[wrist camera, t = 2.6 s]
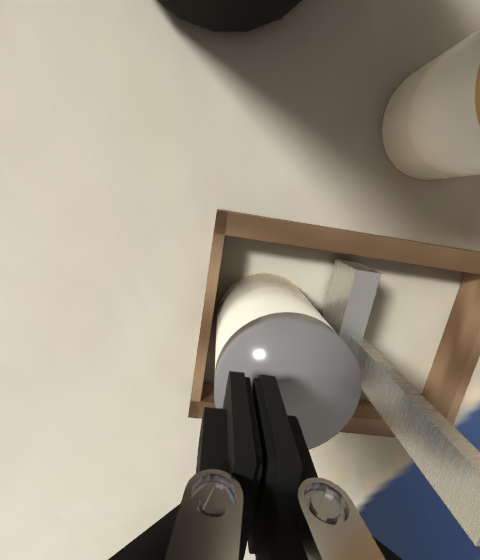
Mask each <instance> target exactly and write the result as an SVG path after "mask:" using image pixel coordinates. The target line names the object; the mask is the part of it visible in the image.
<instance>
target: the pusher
mask: <svg viewBox="0 0 480 560" xmlns="http://www.w3.org/2000/svg"><path fill="white" fill-rule="evenodd" d="M380 277H381V273H379V272H377V271H375V270H373V269H371V268H369V267H367V266H364V265H362V264H360V263H358V262H353V261H347V260H340V259H336V260H335V264H334V268H333V272H332V276H331V280H330V285H329V289H328V293H327V297H326V301H325V305H324V310H323V314H322V317H323V318H324V319H325V320H326V321H327V323H328V324H329V325H330V326H331V327H332V328H333V330H334V331H335V332H336V333H337V334H338V336H339V337H340V338H341V339H342V340H343V341H344V343H345V344H346V345H347V346H348V347H349V349H350V350H351V351H352V353H353V354H354V356H355V358H356V360H357V362H358V365H359V368H360V372H361V380H362V387H361V389H362V391H363V392H364V394H365V395H366V396H367V398H368V399H369V400H370V402H371V403H372V405H373V406H374V407H375V409H376V410H377V411H378V413H379V414H380V415H381V417H382V418H383V420H384V421H385V422H386V424H387V425H388V426H389V428H390V429H391V431H392V432H393V433H394V435H395V436H396V437H397V439H398V440H399V442H400V443H401V444H402V446H403V447H404V448H405V450H406V451H407V452H408V454H409V455H410V457H411V458H412V459H413V461H414V462H415V463H416V465H417V466H418V467H419V469H420V470H421V472H422V473H423V474H424V476H425V477H426V479H427V480H428V481H429V483H430V484H431V485H432V487H433V488H434V489H435V491H436V492H437V494H438V495H439V496H440V498H441V499H442V500H443V502H444V503H445V505H446V506H447V507H448V509H449V510H450V511H451V513H452V514H453V515H454V517H455V518H456V519H457V521H458V522H459V524H460V525H461V527H462V528H463V529H464V531H465V532H466V533H467V535H468V536H469V537H470V539H471V540H472V542H473V543H474V544H475V546H480V452H479V451H478V450H477V449H476V448H475V447H474V446H473V445H472V444H471V443H470V442H469V441H468V440H467V439H466V438H465V437H464V436H463V435H462V434H461V433H460V432H459V431H458V430H457V429H456V428H455V427H454V426H453V425H452V424H451V423H449V422H448V421H447V420H446V419H445V418H444V417H443V416H442V415H441V414H440V413H439V412H438V411H437V410H436V409H435V408H434V407H433V406H432V405H431V404H430V403H429V402H428V401H427V400H426V399H425V398H424V397H423V396H422V395H421V394H420V393H419V392H418V391H417V390H416V389H415V388H414V387H413V386H412V385H411V384H410V383H409V382H408V381H407V380H406V379H405V378H404V377H403V376H402V375H401V374H400V373H399V372H398V371H397V370H396V369H395V368H394V367H393V366H392V365H391V364H390V363H389V362H388V361H387V360H386V359H385V358H384V357H383V356H382V355H381V354H380V353H379V352H378V351H377V350H376V349H374V348H373V347H372V346H371V345H370V344H369V343H368V342H367V341H366V340H365V339H364V338H363V337H364V333H365V330H366V326H367V323H368V319H369V316H370V312H371V309H372V305H373V301H374V298H375V294H376V291H377V287H378V284H379V280H380Z"/></svg>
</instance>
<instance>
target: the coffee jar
mask: <svg viewBox="0 0 480 560" xmlns="http://www.w3.org/2000/svg"><path fill="white" fill-rule="evenodd" d="M157 1H159V2H160V3H161V4H162V5H164V6H165V7H166V8H167V9H169V10H170V11H171V12H172V13H173V14H175V15H176V16H177V17H178V18H180V19H182V20H185V21H187V22H190V23H193V24H195V25H198V26H201V27H203V28H206V29H209V30H211V31H214V32H247V31H249V30H252V29H255V28H257V27H260V26H263V25H265V24H268V23H270V22H273V21H276V20H278V19H281V18H282V17H283V16H284V15H286V14H287V13H288V12H289V11H290V10H291V9H293V8H294V7H295V6H296V5H297V4H298V3H299V2H301V1H302V0H157Z"/></svg>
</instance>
